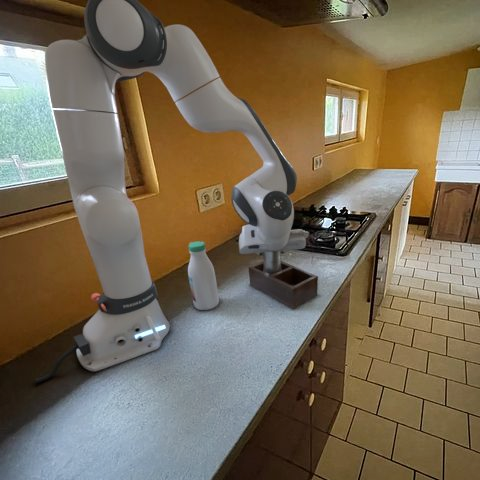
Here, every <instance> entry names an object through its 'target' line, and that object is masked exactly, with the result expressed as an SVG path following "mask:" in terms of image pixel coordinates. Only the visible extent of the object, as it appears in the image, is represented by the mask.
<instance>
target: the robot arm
mask: <svg viewBox="0 0 480 480" xmlns="http://www.w3.org/2000/svg"><path fill="white" fill-rule="evenodd" d="M84 8H85V9H84V16H83V18H84V19H83V20H84V21H83V22H84V27H85V31H86V34H85V35H84V36H83V37H82V38H81V39H76V40H74V39H59V40H56V41H53V42H52V43H50V44H49V45H48V46H47V48H46V50H45V52H44V62H45V63H44V65H45V66H44V67H45V79H46V88H47V93H48V99H49V104H50V108H51V113H52V117H53V121H54V126H55V130H56V135H57V139H58V142H59V146H60V151H61V155H62V159H63V164H64V168H65V174H66V177H67V181H68V186H69V191H70V195H71V199H72V203H73V208H74V211H75V214H76V217H77V220H78V223H79V226H80V229H81V233H82V235H83V237H84V240H85V243H86V246H87V248H88V251H89V254H90V257H91V259H92V263H93V266H94V269H95V272H96V275H97V278H98V280H99V282H100V286H101V289H102V291H103V292H102V293H101V294H100V293H98V292H94V293H93V294H91V296H90V299H91V300H92V302H93V303H95V304H97V306H98V310H97V311H96V312H95V314H93V316H92V317H91V318H90V319H89V320H88V321H87V322H86V323H85V324H84V326H83V328H82V333H79V334H78V335H75V336H73V340H74V342H75V343H74V344H75V345H74V346H72V347H71V348H69V349H68V350H66V351H65V352H64V353H63V354H62V355H61V356H60V357H59V358H58V359H57V360H56V361H55V363H54V365H53V367H52V369H51V370H50V372H48V373H47V374H46V375H43V376H40V377H38V378H36V379H34V381H35V383H36V384H39V383H42V382H44V381H47V380H49V379H50V378H51V377H53V376H54V375H55V374H56V373H57V371H58V369H59V368H60V365H61V364H62V363H63V361H64V360H65V359H66V358H68V357H69V356H70V355H72V354H73V353H74V352H75V351H76V356H77V360H78V362H79V364H80V366H82V367H83V368H84V369H86V370H87V371H90V372H98V371H102V370H105V369H108V368H109V367H112V366H115V365H118V364H121V363H123V362H126V361H129V360H132V359H134V358H137V357H140V356H143V355H145V354H147V353H151V352H153V351H156V350H158V349H160V347H161V344H162V342H163V339H165V337H166V336H167V335H168V333H169V331H170V328H171V326H170V322H169V321H168V319H167V318H166V316H165V315H164V312H163V311H162V308H161V306H160V304H159V294H158V291H157V287H156V285H155V282H154V281H153V280H152V278H151V272H150V270H149V265H148V262H147V258H146V254H145V245H144V238H143V232H142V226H141V221H140V215H139V211H138V209H137V207H136V205H135V204H134V202H133V201H132V200H131V199H130V198H129V197H128V195H127V188H126V174H125V151H124V143H123V138H122V131H121V125H120V120H119V119H120V118H119V113H118V107H117V106H118V105H117V101H116V83H120V82H125V81H128V80H133V79H136V78H139V77H141V76H142V75H144V74H145V73H146V72H148V73H150V74H153V75H154V76H155V77H157V78H158V79H159V80H160V81H161V83H162V84H163V85H164V87H165V88H166V89H167V91H168V93H169V95H170V96H171V98H172V101H173V102H174V103H175V106H176V107H177V109H178V111H179V113H180V114H181V115H182V117H183V119H184V120H185V121H186V122H187V124H188V125H189V126H190V127H191V128H193V129H195V130H197V131H199V132H201V133H206V134H217V133H226V132H238V133H240V134H243V135H244V136H245V137H246V138H247V139H248V142H250V144H251V145H252V147H253V148H254V150H255V151H256V153H257V154H258V156H259V157H260V158H261V160H262V162H263V164H262V167H260V168H259V169H257V170H256V171H254V172H253V173H252V174H250V175H249V176H247V177H245V178H244V179H242V180H241V181H240V182H238V183H237V184H236V185H234V186H233V187H232V189H231V192H230V194H231V204H232V207H233V209H234V211H235V213H236V214H237V215H238V217H239V218H240V219H241V220H242V221H243V222H245V223H246V225H245V224H244V225H243V226H242V227H241V233H240V234H239V237H238V250H239V254H240V255H246V254H247V255H248V254H256V255H257V256H263V252H273V251H280V254H286V252H288V251H295V250H303V249H305V248H306V246H307V238H308V237H309V236H310V232H309V231H305V230H303V229H300V228H297V229H292V227H293V224H294V219H295V209H294V203H293V201H292V199H291V197H290V195H292V194H294V193H295V191H296V187H297V184H298V175H297V172H296V170H295V169H294V167H293V166H292V164H291V163H290V162H289V161H288V160H287V158H286V157H285V156H284V154H283V153H282V152H281V150H280V148H279V147H278V145H277V144H276V142H275V141H274V138H272V136H271V134H270V133H269V131H268V129H267V128H266V126H265V125H264V123H263V121H262V120H261V119H260V117H259V115H258V114H257V112H256V111H255V110H254V108H253V107H252V106H251V105H250V104H249V102H248V101H247V100H246V99H245V98H242V97H237V96H235V94H233V93H232V92H231V91H230V90H229V88H227V86H226V84H225V83H224V81H223V80H222V78H221V77H220V74H219V72H218V69H217V68H216V66H215V64H214V62H213V61H212V58H211V57H210V55H209V53H208V52H207V50H206V48H205V47H204V45H203V44H202V43H201V41H200V40H199V38H198V36H197V35H196V34H195V32H194V31H193V30H192V28H190V27H188V26H186V25H184V24H179V23H178V24H171V25H167V26H164V23H163V22H162V20H161V19H159V18H158V17H157V16H156V15H155V14H154V13H152V12H151V11H150V10H148V9H147V8H146V7H145V6H144V5H143V4H142V3H141V2H139V0H88V1H87V3H86V6H85V7H84Z"/></svg>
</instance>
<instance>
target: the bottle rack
mask: <svg viewBox="0 0 480 480" xmlns="http://www.w3.org/2000/svg"><path fill="white" fill-rule="evenodd" d="M280 263H281V269H282V271H280V272H277V273H275V274H273V275H268V274H266V273H264V272H263V270H264V260H263V261H260V262H258V263H256V264H254V265H251V266H248V274H249V275H248V276H249V286H250V287H252V288H254V289H255V290H257V291H259V292H261V293H263V294H264V295H267V296H268V297H270V298H272V299H273V300H275V301H276V302H279V303H281V304H282V305H284V306H286V307H288V308H290V309H291V310H295V309H297V308H298V307H300V306H302V305H304V304H306V303H307V302H309V301H311V300H312V299H315V297H317V296H318V291H319V290H318V285H319V276H318V275H316V274H313V273H311V272H309V271H306V270H305V269H302V268H300V267H297V266H294V265H293V264H290V263H287V262H285V261H283V260H281V259H280Z"/></svg>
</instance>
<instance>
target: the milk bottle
mask: <svg viewBox="0 0 480 480" xmlns="http://www.w3.org/2000/svg"><path fill="white" fill-rule="evenodd" d="M187 247H188V252H189V254H190V259H189V262H188V266H187V275H188V277H187V278H188V281H189V288H190V292H191V298H192V304H193V306H194V308H195V309H197V310H200V311H209V310H212V309H214V308H216V307H217V306H218V304H219V302H220V299H219V297H220V296H219V291H218V285H217V284H218V283H217V278H216V272H215V268H214V265H213V263H212V261H211V260H210V259H209V257H208V255H207V253H206V251H207V249H206V244H205V242H204V241H200V240H198V241H192V242H189V244H188V245H187Z"/></svg>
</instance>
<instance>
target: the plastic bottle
mask: <svg viewBox="0 0 480 480" xmlns="http://www.w3.org/2000/svg"><path fill="white" fill-rule="evenodd" d="M262 257H263V259H262V260H263V261H264V270H263V272H264V273H266V274H268V275H273V274H275V273H277V272H280V271H282V269H281V263H280V260H281V251H273V252H262Z"/></svg>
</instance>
